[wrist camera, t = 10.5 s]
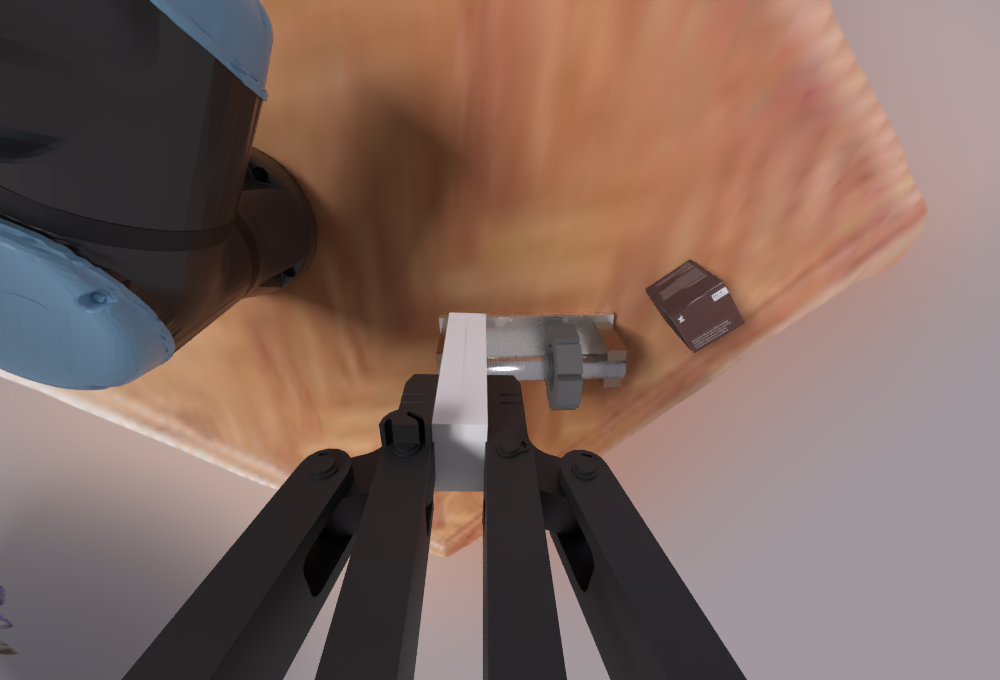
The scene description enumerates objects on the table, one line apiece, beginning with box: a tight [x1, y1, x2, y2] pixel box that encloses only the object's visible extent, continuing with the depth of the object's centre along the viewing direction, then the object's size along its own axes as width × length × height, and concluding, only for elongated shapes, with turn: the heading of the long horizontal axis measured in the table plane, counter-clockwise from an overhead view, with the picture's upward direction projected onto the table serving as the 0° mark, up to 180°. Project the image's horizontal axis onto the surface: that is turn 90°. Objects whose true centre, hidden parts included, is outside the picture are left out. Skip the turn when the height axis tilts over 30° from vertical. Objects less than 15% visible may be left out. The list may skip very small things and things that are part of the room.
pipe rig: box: [436, 312, 627, 388], centre depth 45 cm, size 21×7×8 cm, turn 90°
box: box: [645, 260, 745, 353], centre depth 43 cm, size 6×6×7 cm
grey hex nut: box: [545, 324, 583, 410], centre depth 43 cm, size 2×9×9 cm, turn 0°
